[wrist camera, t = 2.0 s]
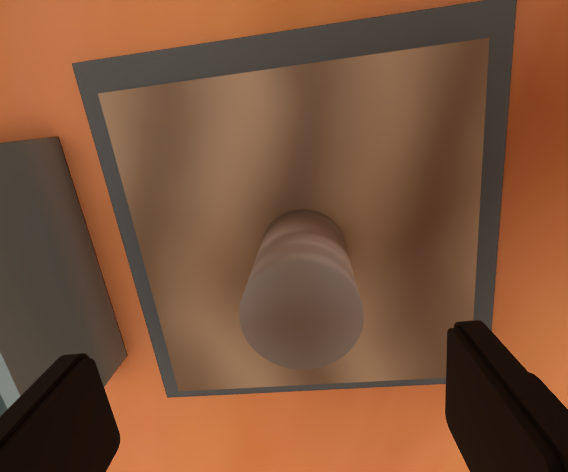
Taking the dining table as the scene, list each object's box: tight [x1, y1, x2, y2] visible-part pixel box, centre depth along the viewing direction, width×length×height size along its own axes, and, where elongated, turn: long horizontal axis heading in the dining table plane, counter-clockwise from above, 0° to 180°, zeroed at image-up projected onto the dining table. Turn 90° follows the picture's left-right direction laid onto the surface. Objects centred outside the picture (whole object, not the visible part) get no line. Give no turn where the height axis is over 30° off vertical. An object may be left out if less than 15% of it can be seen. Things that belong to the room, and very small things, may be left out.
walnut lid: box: [98, 38, 489, 391], centre depth 15 cm, size 16×16×7 cm
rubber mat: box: [72, 0, 517, 398], centre depth 19 cm, size 19×19×1 cm
